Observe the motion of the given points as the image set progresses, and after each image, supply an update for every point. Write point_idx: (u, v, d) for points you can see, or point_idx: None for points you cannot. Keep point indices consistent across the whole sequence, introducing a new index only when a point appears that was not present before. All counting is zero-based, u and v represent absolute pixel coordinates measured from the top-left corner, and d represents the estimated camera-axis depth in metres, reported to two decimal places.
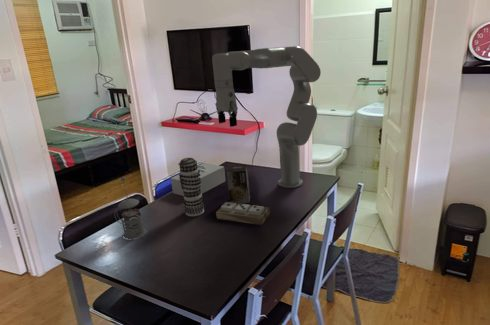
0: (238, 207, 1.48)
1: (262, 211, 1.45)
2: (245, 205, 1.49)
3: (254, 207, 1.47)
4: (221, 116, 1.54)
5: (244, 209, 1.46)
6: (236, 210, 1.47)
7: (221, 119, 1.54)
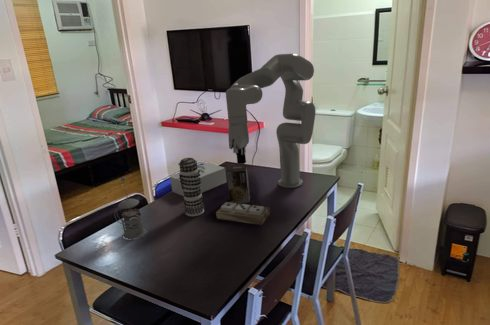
0: (238, 207, 1.48)
1: (262, 211, 1.45)
2: (245, 205, 1.49)
3: (254, 207, 1.47)
4: None
5: (244, 209, 1.46)
6: (236, 210, 1.47)
7: None
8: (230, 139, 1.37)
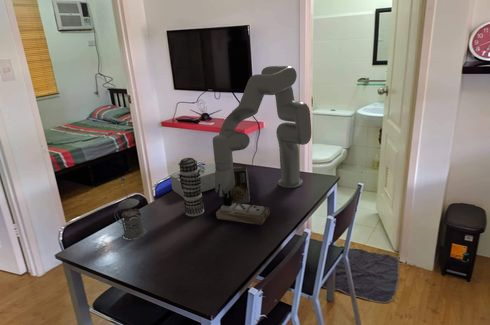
0: (238, 207, 1.48)
1: (262, 211, 1.45)
2: (245, 205, 1.49)
3: (254, 207, 1.47)
4: None
5: (244, 209, 1.46)
6: (236, 210, 1.47)
7: None
8: (216, 184, 1.43)
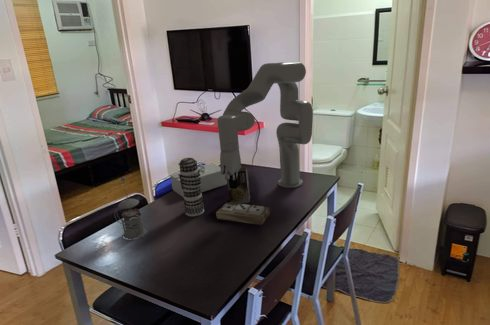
0: (238, 207, 1.48)
1: (262, 211, 1.45)
2: (245, 205, 1.49)
3: (254, 207, 1.47)
4: None
5: (244, 209, 1.46)
6: (236, 210, 1.47)
7: None
8: (222, 165, 1.40)
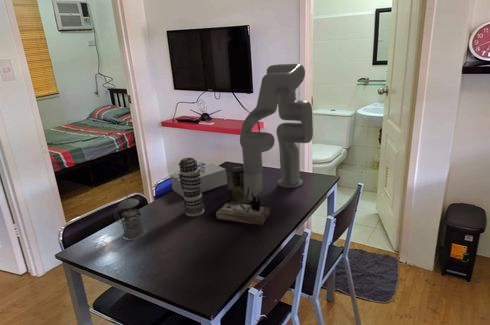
0: (238, 207, 1.48)
1: (262, 212, 1.45)
2: (245, 205, 1.49)
3: None
4: None
5: (244, 209, 1.46)
6: (236, 210, 1.47)
7: None
8: (245, 187, 1.38)
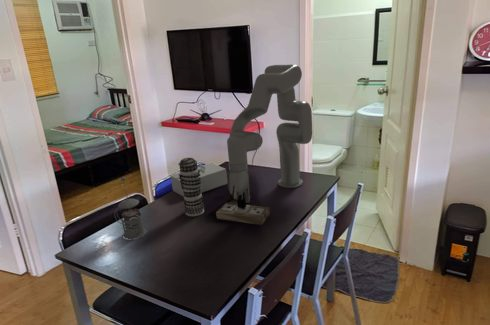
0: None
1: (262, 213, 1.45)
2: None
3: (254, 209, 1.47)
4: None
5: (244, 209, 1.46)
6: (236, 210, 1.47)
7: None
8: (231, 185, 1.41)
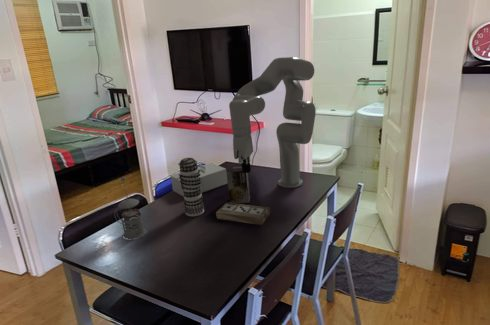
0: (238, 209, 1.48)
1: (262, 213, 1.45)
2: (245, 207, 1.49)
3: (254, 209, 1.47)
4: None
5: (244, 211, 1.46)
6: (236, 212, 1.47)
7: None
8: (235, 150, 1.41)
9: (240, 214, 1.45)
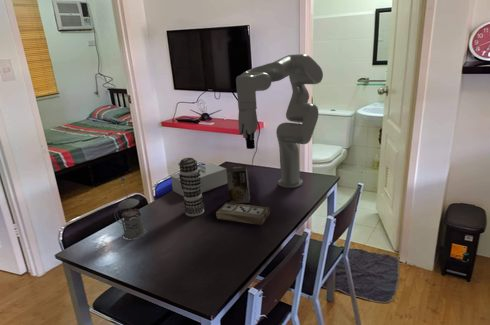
0: (238, 209, 1.48)
1: (262, 213, 1.45)
2: (245, 207, 1.49)
3: (254, 209, 1.47)
4: None
5: (244, 211, 1.46)
6: (236, 212, 1.47)
7: None
8: (240, 124, 1.42)
9: (240, 214, 1.45)
